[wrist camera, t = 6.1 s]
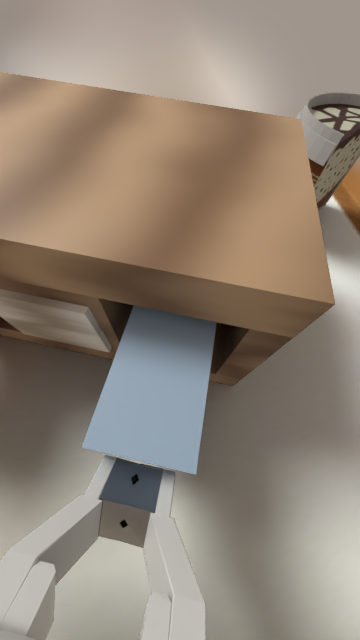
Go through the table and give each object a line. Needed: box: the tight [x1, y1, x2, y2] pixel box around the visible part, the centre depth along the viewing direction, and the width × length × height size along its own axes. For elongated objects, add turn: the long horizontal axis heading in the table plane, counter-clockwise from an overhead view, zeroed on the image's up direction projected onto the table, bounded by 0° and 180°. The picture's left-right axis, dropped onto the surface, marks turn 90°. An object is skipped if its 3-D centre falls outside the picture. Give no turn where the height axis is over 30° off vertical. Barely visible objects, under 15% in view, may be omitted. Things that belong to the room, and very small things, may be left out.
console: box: [0, 72, 335, 386], centre depth 15 cm, size 24×14×12 cm, turn 79°
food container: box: [296, 92, 360, 211], centre depth 24 cm, size 12×6×10 cm, turn 133°
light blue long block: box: [82, 305, 217, 475], centre depth 12 cm, size 4×12×4 cm, turn 169°
